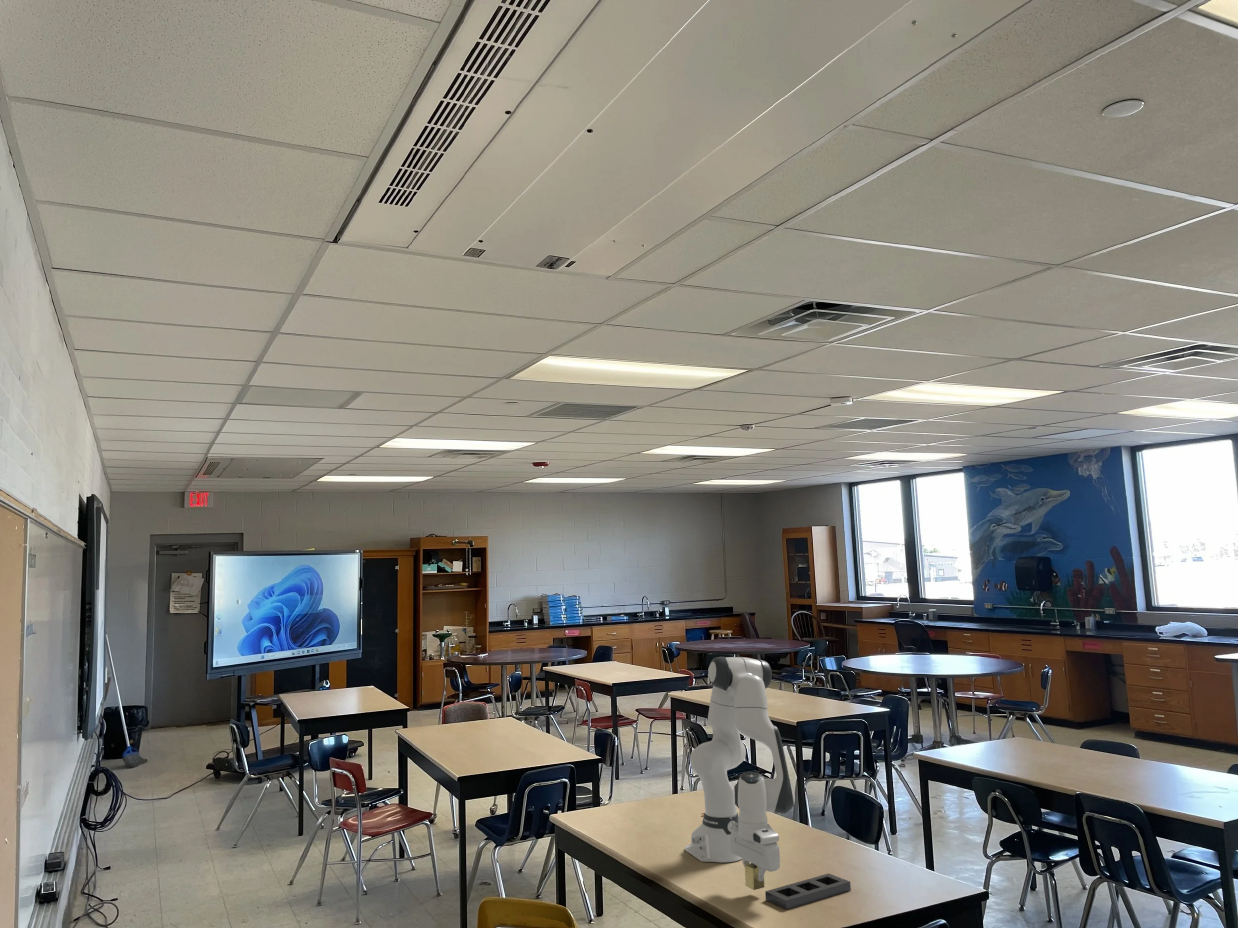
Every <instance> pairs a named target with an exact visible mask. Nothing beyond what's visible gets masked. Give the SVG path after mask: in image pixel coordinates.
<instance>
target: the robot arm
mask: <svg viewBox="0 0 1238 928" xmlns="http://www.w3.org/2000/svg"><path fill="white" fill-rule="evenodd" d="M707 673H708V674H707V675H708V676H707V677H708V680H709V682H710V683H711V685H712V689H711V695H710V702H709V708H708V713H707V721H708V724H709V726H711V729H712V739H711V740H709V741H706V742H703V743H700V744H699V745H698V746H696V747H695V748H694V749H693V750H692V751H691V753H690V756H689V763H690V766H691V769H692V770H693V772H694V773H696V774H697V775H698V778H699V779H700V781H701V785H702V789H703V795H704V796H703V797H704V810H705V811H704V812H703V813H701V816H700V818H702V823H701V824H700V825H699V826H698V827H697V828H696V829H693V831H692V832H691V837H690V838H691V839H690V841H691V842H690V844H687V845H686V846H684V851H685V852H686V853H688V854H689V855H692V856H693V857H694V858H695V859H697V860H699V861H700V862H702V863H703V862H705V863H709V862H711V863H733V862H738V861H740V860H742V864H743V867H744V868H745V865H747V864H751V863H753V864H755V865H757V866H758V870H759V873H758V874H756V877H757V878H756V879H757V880H758V881H760V882H761V881H764V882H765V874H766V871H767V872H770V873H771V872H775V871H778V870H779V869H780V866H781V855H780V853H781V852H780V847H779V844H778V842H779V841H780V836H779V834H778V833H777V832H776V831H775V829H773V828H772V827H771V825H770V824H769V823H768V816H767V812H769V813H770V812H771V813H776V814H783V815H785V814H788V813H789V812H790V811H792V809H793V808H794V807H795V803H796V802H795V801H796V800H795V799H796V797H795V795H796V794H795V792H794V791H795V790H794V788H793V785H792V784H793V783H792V782H791V779H790V776H789V769H788V766H787V765H788V764H787V759H786V755H785V749H784V744H783V742H782V737H781V734H780V730H779V728H778V727H777V726H776V725H774V724H773V723H772V721H771V720H770V719H771V718H770V716H769V710H768V709H769V708H768V707H769V706H768V705H769V704H768V697H767V696H768V695H767V691H766V689H767V688H768V687H769V686H770V684H771V682H772V679H773V678H772V676H773V674H772V669H771V666H770V664H769V663H768V662H767V661H766V660H762V659H759V658H757V659H755V658H751V657H743V656H738V657H736V656H732V657H731V656H730V657H725V656H718V657H713V659H712V660H711V661H710V663H709V666H708V672H707ZM741 734H743V735H744V736H746V737H748V738H750V739H751V740H754V741H756V742H759V743H761V744H763V745H765V746H766V747H767V748H768V749H769V750H770V752H771V755H772V760H773V764H774V769H775V778H764V776H763V775H762V774H760V773H759V772H755V771H754V772H753V771H747V772H744V773H742V774H740V775H739V778H738V781H737V782H736V783H735V785H734V786H733V785H732V784H731V783H730V781H729V777H728V771H730V770H732V769H735V768H737V767H738V766H739V765H740V764H742V763H743V762H744V761H745V759H746V755H747V750H746V746H745V744H744V743H743V741H742V739H741ZM738 811H739V812H738Z"/></svg>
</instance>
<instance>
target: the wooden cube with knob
mask: <svg viewBox="0 0 1238 928" xmlns="http://www.w3.org/2000/svg"><path fill="white" fill-rule="evenodd" d="M758 873H759V870H758V866H757V865H755V864H753V863H751V862H750V864H747V865H745V867H744V877H745V879H744V880H745V883H744V884H745V887H747V888H749V889H751V890H753V891H756V890H760V889H763V888H765V880H764V881H761V882H760V881H758V880H757V879H756V878H757V877H756V874H758Z"/></svg>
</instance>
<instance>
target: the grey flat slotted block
mask: <svg viewBox="0 0 1238 928" xmlns="http://www.w3.org/2000/svg"><path fill="white" fill-rule="evenodd" d="M849 891H850V892H851V891H852V888H851V881H850V880H847V879H845V878H842V877H839V876H837V875H834V874H832V873H825V874H822V875H819V876H815V877H811V878H807V879H804V880H800V881H797V882H794V883H793V882H792V883H790V884H786V885H783V886H780V887H775V888H772V889H769V890H765V891H764V894H765V901H767V902H768V903H771V904H773V905H775V906H777V907H780V908H782V909H784V910H785V911H786V910H791V909H794V908H797V907H800V906H803V905H804V906H805V905H807V904H811V903H814V902H817V901H821V900H823V899H827V898H830V897H833V896H837V895H839V894H843V893H846V892H849Z"/></svg>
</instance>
